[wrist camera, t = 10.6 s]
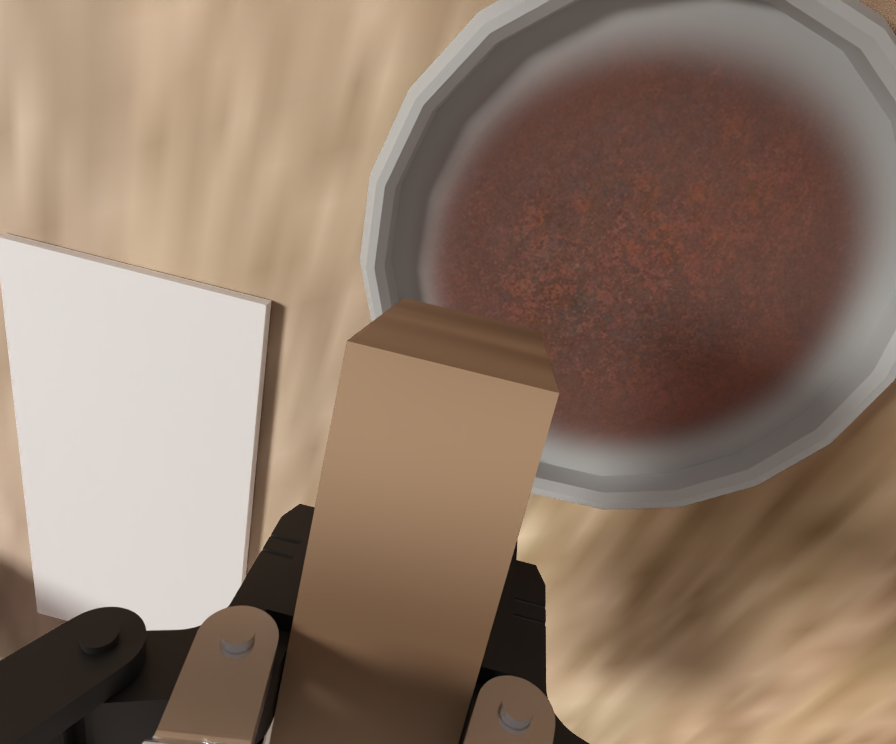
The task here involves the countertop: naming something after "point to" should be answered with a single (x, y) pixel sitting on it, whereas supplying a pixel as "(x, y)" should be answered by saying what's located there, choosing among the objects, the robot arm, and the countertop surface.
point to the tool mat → (133, 432)
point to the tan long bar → (413, 526)
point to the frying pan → (659, 227)
